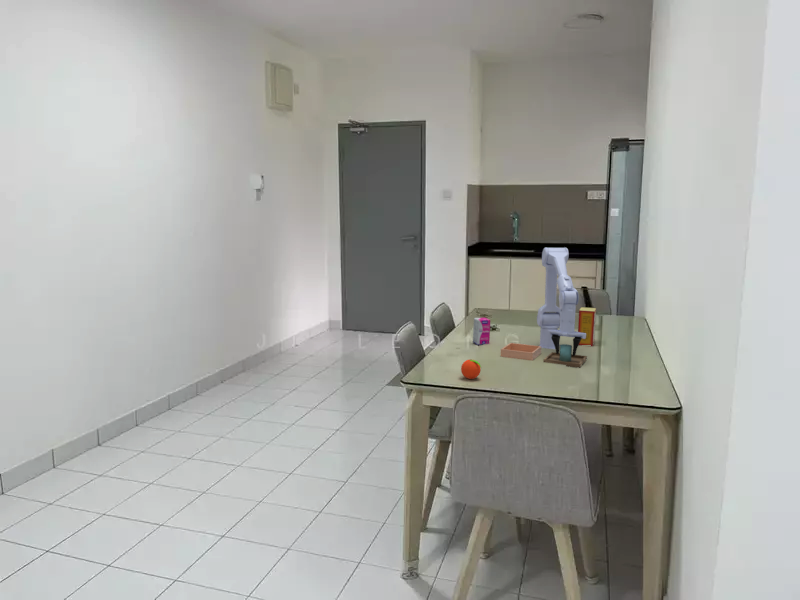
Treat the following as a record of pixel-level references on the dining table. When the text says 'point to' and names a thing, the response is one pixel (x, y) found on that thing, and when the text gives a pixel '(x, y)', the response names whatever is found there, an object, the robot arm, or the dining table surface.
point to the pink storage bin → (521, 351)
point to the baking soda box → (587, 325)
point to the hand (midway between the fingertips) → (565, 354)
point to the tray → (575, 362)
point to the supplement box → (481, 331)
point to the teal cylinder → (565, 352)
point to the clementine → (470, 369)
